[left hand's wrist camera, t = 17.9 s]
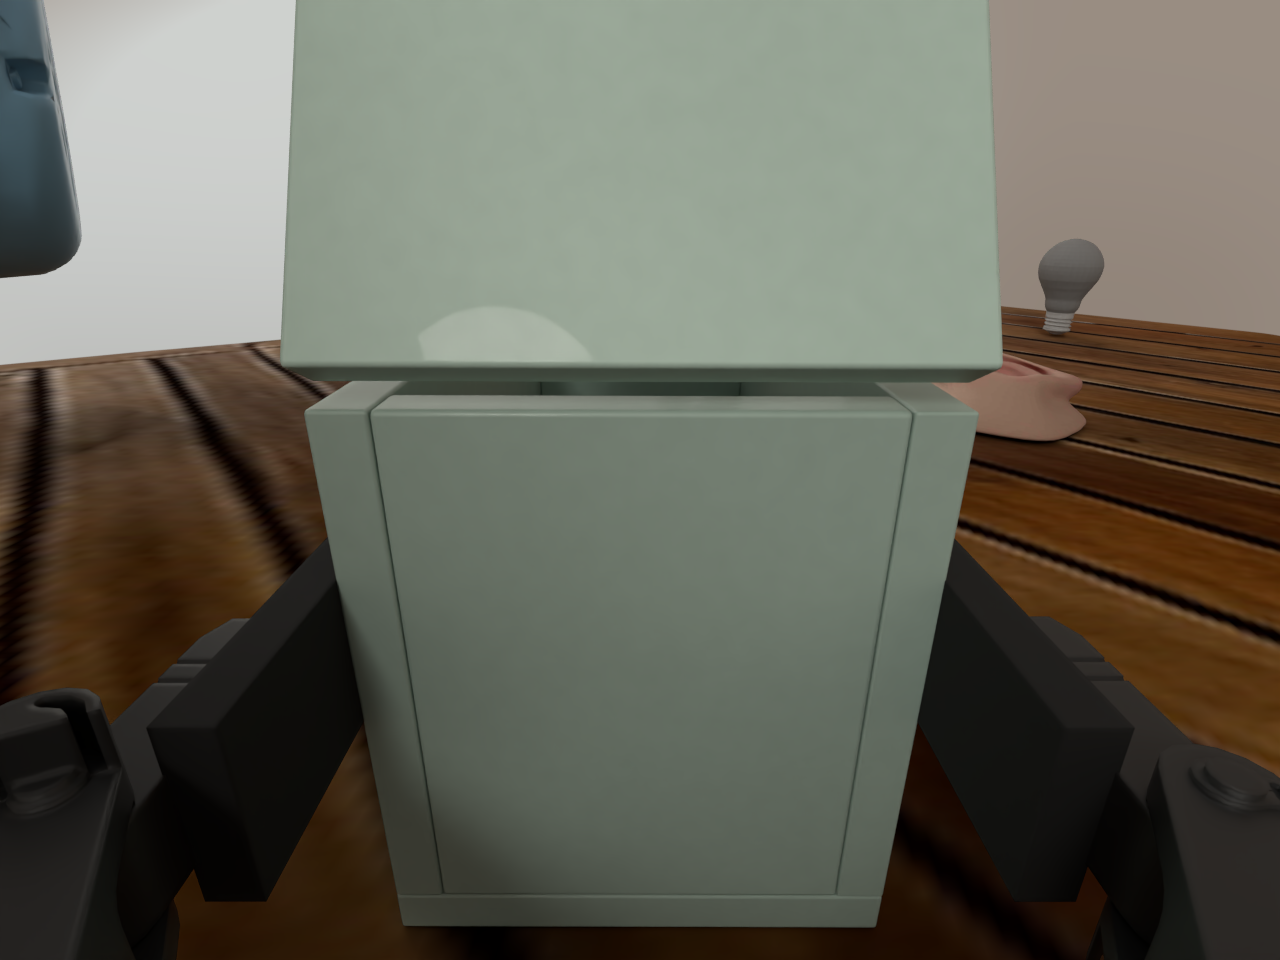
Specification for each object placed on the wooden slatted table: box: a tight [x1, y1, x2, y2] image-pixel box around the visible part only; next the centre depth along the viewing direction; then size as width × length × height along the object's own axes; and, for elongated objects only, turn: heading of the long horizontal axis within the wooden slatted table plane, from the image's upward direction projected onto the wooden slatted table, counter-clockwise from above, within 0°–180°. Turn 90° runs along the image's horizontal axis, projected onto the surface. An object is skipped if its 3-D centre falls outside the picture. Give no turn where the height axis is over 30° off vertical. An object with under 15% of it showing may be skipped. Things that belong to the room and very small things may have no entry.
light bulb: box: [1038, 239, 1104, 334], centre depth 74 cm, size 6×6×10 cm
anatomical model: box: [932, 354, 1086, 441], centre depth 46 cm, size 13×4×12 cm
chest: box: [304, 381, 979, 927], centre depth 19 cm, size 17×9×10 cm, turn 0°
